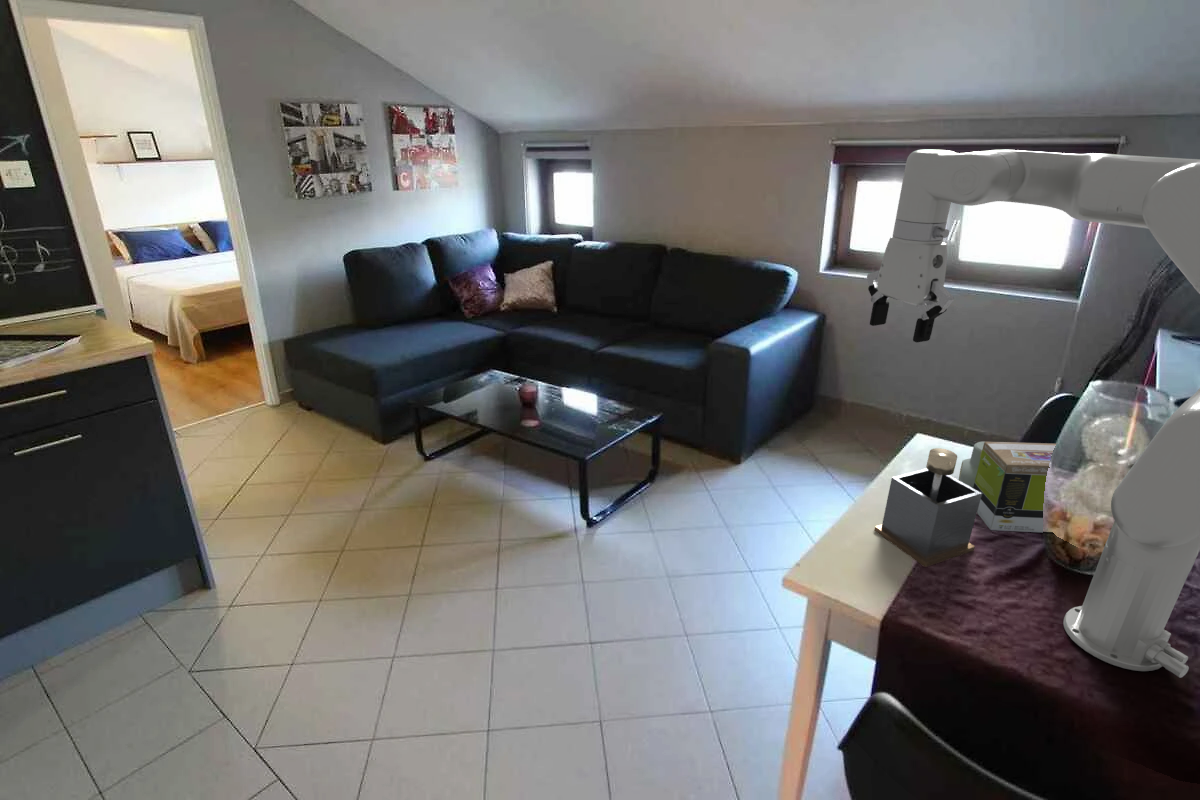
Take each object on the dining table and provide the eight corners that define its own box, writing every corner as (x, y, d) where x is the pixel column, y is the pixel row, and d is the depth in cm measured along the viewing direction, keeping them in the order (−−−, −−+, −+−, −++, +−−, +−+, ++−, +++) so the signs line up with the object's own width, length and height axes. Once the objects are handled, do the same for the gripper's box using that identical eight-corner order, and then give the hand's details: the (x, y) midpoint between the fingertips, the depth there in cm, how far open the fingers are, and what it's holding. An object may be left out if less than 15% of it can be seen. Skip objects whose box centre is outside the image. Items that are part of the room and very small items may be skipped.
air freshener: (1001, 506, 133) (1013, 463, 129) (956, 495, 136) (966, 453, 132) (1001, 482, 141) (1013, 441, 137) (958, 472, 145) (969, 432, 141)
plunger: (958, 541, 119) (979, 459, 113) (925, 551, 117) (945, 468, 110) (922, 518, 126) (941, 440, 119) (891, 527, 123) (908, 448, 117)
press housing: (973, 550, 119) (989, 494, 114) (925, 567, 115) (939, 509, 110) (920, 516, 129) (933, 463, 124) (874, 530, 125) (885, 476, 120)
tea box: (1044, 507, 132) (1065, 442, 126) (1072, 536, 123) (1096, 467, 117) (967, 503, 134) (984, 438, 128) (988, 531, 125) (1008, 463, 119)
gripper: (982, 239, 99) (956, 345, 106) (895, 222, 114) (877, 316, 121) (946, 242, 97) (922, 351, 104) (861, 224, 111) (845, 321, 118)
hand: (898, 332), depth 112 cm, fingers open, 9 cm apart
